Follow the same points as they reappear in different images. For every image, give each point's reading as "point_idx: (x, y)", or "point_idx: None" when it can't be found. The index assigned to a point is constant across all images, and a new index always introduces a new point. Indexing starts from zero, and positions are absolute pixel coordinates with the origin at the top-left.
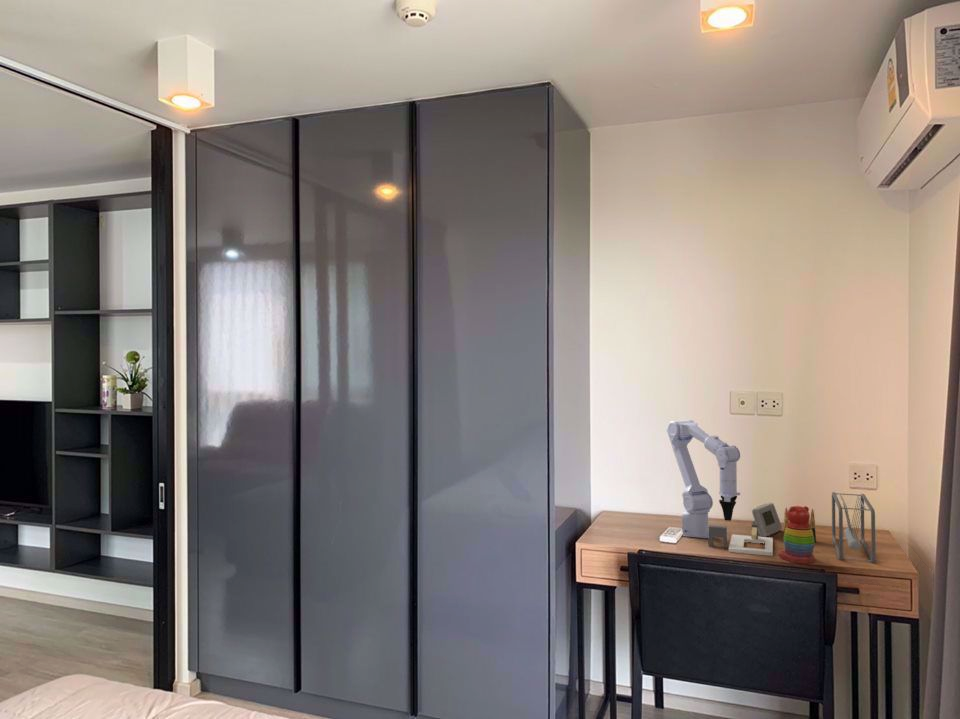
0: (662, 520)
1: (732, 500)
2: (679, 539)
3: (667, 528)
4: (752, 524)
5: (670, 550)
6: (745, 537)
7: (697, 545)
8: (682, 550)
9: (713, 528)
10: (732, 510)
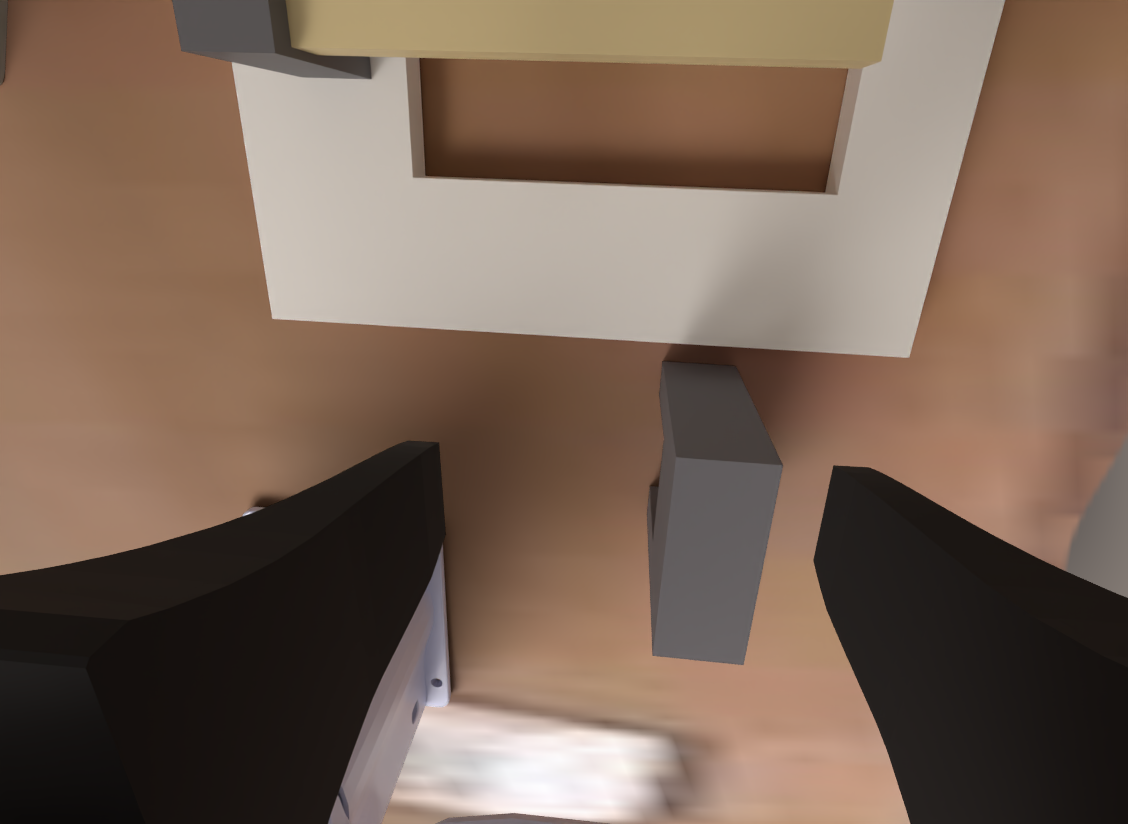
0: None
1: (252, 662)
2: (547, 713)
3: None
4: (223, 39)
5: None
6: (342, 164)
7: None
8: None
9: (748, 603)
10: (1092, 591)
